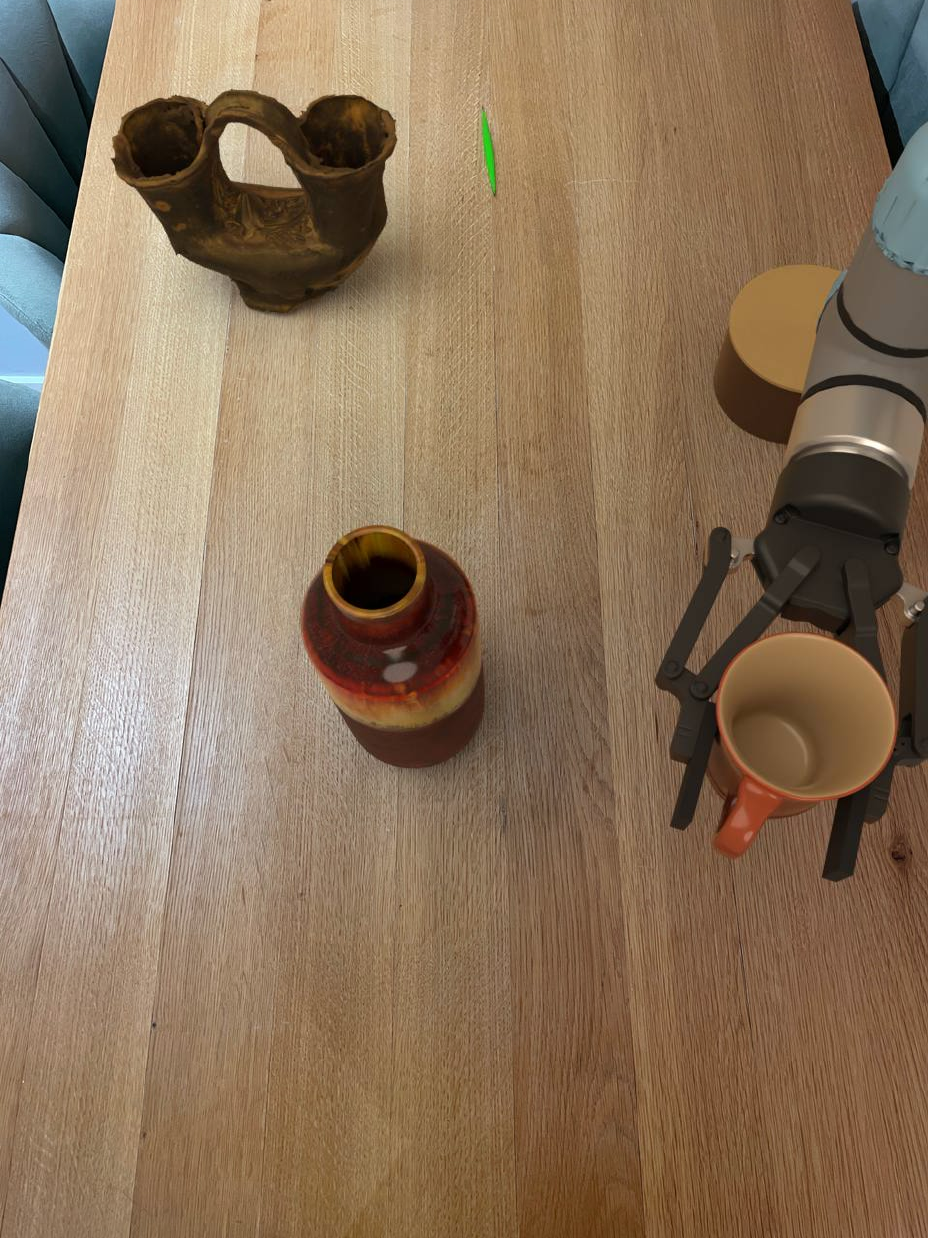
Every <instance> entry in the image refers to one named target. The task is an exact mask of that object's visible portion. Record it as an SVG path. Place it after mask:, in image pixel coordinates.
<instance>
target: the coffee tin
mask: <svg viewBox="0 0 928 1238" xmlns="http://www.w3.org/2000/svg"><path fill="white" fill-rule="evenodd" d="M842 272H843V271H841V270H838V269H835V268H831V267H828V266H827V267H826V266H823V265H817V264H804V263H803V264H789V265H784V266H779V267H775V268H773V269H769V270H766V271H765V272H762V273H760V274H759V275H757V276H755V277H754V278H753V279H751V280H750V281H749V282H748V283H746V284H745V285H744V287H742V288H741V290H740V291H739V292H738V293H737V295H736V297H735V298H734V301H733V303H732V305H731V307H730V311H729V316H728V324H727V325H728V326H727V329H726V332H725V335H724V339H723V342H722V345H721V348H720V351H719V355H718V358H717V362H716V365H715V368H714V372H713V389H714V394H715V397H716V400H717V402H718V404H719V406H720V408H721V409H722V411H723V412H724V414H725V415H726V416H727V417H728V418H729V419H730V420H731V421H732V422H733V423H734V424H735V425H736V426H737V427H739V428H740V429H742V430H743V431H744V432H746V433H748V434H750V435H752V436H754V437H756V438H758V439H761V440H764V441H767V442H771V443H776V444H782V445H788V442H789V438H790V435H791V431H792V427H793V424H794V420H795V417H796V412H797V409H798V405H799V402H800V400H801V396H802V392H803V388H804V384H805V380H806V376H807V372H808V368H809V364H810V360H811V356H812V352H813V347H814V343H815V339H816V332H815V331H816V326H817V322H818V318H819V315H820V314H821V313H822V311H823V308H824V304H825V301H826V299H827V297H828V295H829V292H830V289H831V287H832V285H833V283H834V281H835V280H836V279H837V277H838V276H839V275H840V274H841V273H842Z"/></svg>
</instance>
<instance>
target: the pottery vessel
mask: <svg viewBox="0 0 928 1238" xmlns="http://www.w3.org/2000/svg"><path fill="white" fill-rule="evenodd" d="M305 109H306V110H305V111H304V110H301V111H300V113H301V114H300V115H299V116H298V117H297V116H295V114H294V113H293V112H292V111H291V109H289V108H288V106H286V105H285V104H283V103H282V102H281V101H278V99H276V98H275V97H272V96H268V95H266V94H262V93H260V92H259V91H258V90H251V89H233V88H231V89H229V90H225V91H223V92H221V93H220V94H218V95H217V97H216V98H215V99H213V100H212V102H210V103H209V104H207V102H205V101H204V100H199V99H197V98H195V97H190V96H184V95H180V94H179V95H177V94H174V95H171V96H170V97H168V98H164V97H157V98H155V99H151V100H149V101H147V102H146V103H144V104H142V105H139V106H137V107H135V108H132V109H131V110H130V111H128V112H126V113H125V114H124V115H122V116H121V117H120V119H121V123H120V126H119V130H118V131H117V134H116V135H114V136H112V137H111V140H112V149H113V151H114V157H111V156H110V160H111V162H112V164H113V166H114V172H115V173H116V176H117V177H118V178H119V179H120V180H121V181H123V182H124V183H125V184H126V185H128V186H129V187H131V188H134V189H135V190H136V192H137V193H138V194H139V195H140V197H141V198H142V199H143V200H144V202H145V203H146V205H147V206H148V208H149V209H150V211H151V212H152V213H153V215H154V216H155V217H156V219H157V220H158V222H159V223H160V224H161V225H162V228H163V229H164V231H165V234H166V236H167V238H168V241H169V243H170V245H171V248H172V249H173V252H174V253H175V256H178V255H180V256H182V257H183V258H185V259H186V260H188V261H189V262H192V263H193V264H195V265H198V266H200V267H203V268H205V269H208V270H210V271H213V272H215V273H216V272H217V273H219V274H221V275H223V276H226V277H228V278H230V282H234V283H235V285H236V286H237V288H238V290H239V296H240V298H241V299H242V301H243V303H244V304H245V306H246V307H247V308H248V309H250V310H254V311H260V312H263V313H265V312H266V311H267V312H268V313H271V314H272V313H274V314H275V313H276V314H282V315H284V314H285V315H286V314H288V315H290V313H291V312H293V311H294V310H295V309H297V308H299V307H300V306H302V305H303V304H306V303H307V302H310V301H312V300H317V299H319V298H322V297H323V296H325V295H326V294H327V293H330V292H335V291H336V290H337V289H338V287H339V285H340V284H344V282H345V281H346V280H348V279H349V278H350V277H351V276H352V274H353V273H355V272H356V271H357V270H358V269H360V268H361V266H362V265H363V263H364V262H365V260H366V258H367V257H368V256H369V254H370V253H371V252H372V250H373V248H374V246H375V245H376V243H377V241H378V239H379V238H380V235H381V234H382V232H383V230H384V229H385V227H386V225H387V220H388V217H389V216H388V215H389V214H388V213H389V211H388V206H387V199H386V194H385V186H384V174H385V170H386V162H387V160H388V159H390V157H392V156H393V153H394V151H395V148H396V146H397V142H398V135H397V134H396V132H397V129H396V128H397V127H396V123H397V119H395V118H394V117H393V115H392V114H391V113H390V111H389V110H387V109H384V108H382V107H380V106H379V105H377V104H376V103H374V102H373V101H371V100H369V99H366V98H365V97H364V96H362V95H358V94H340V95H336V93H332V94H330V95H329V94H326V95H322V96H320V97H318V98H316V99H314V100H312V101H311V102H310V103H308V106H306V107H305ZM231 123H232V124H242V125H246V126H248V127H250V128H252V129H254V130H257V131H258V132H260V133H261V134H262V135H264V136H265V137H266V138H267V139H268V141H270V143H271V144H272V145H273V146H275V147H276V148H277V149H279V150H280V152H281V154H282V156H283V160H284V162H285V164H286V165H287V166H288V167H289V168H290V169H291V172H292V173H293V175H294V177H295V178H296V180H297V182H298V183H299V186H300V187H284V186H273V185H265V184H257V183H249V182H241V181H235V180H231V178H230V177H229V176H228V174H227V172H226V170H225V168H224V165H223V162H222V160H221V150H220V139H221V137H222V135H223V134H224V132H225V129H226V128H227V125H228V124H231Z"/></svg>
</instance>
